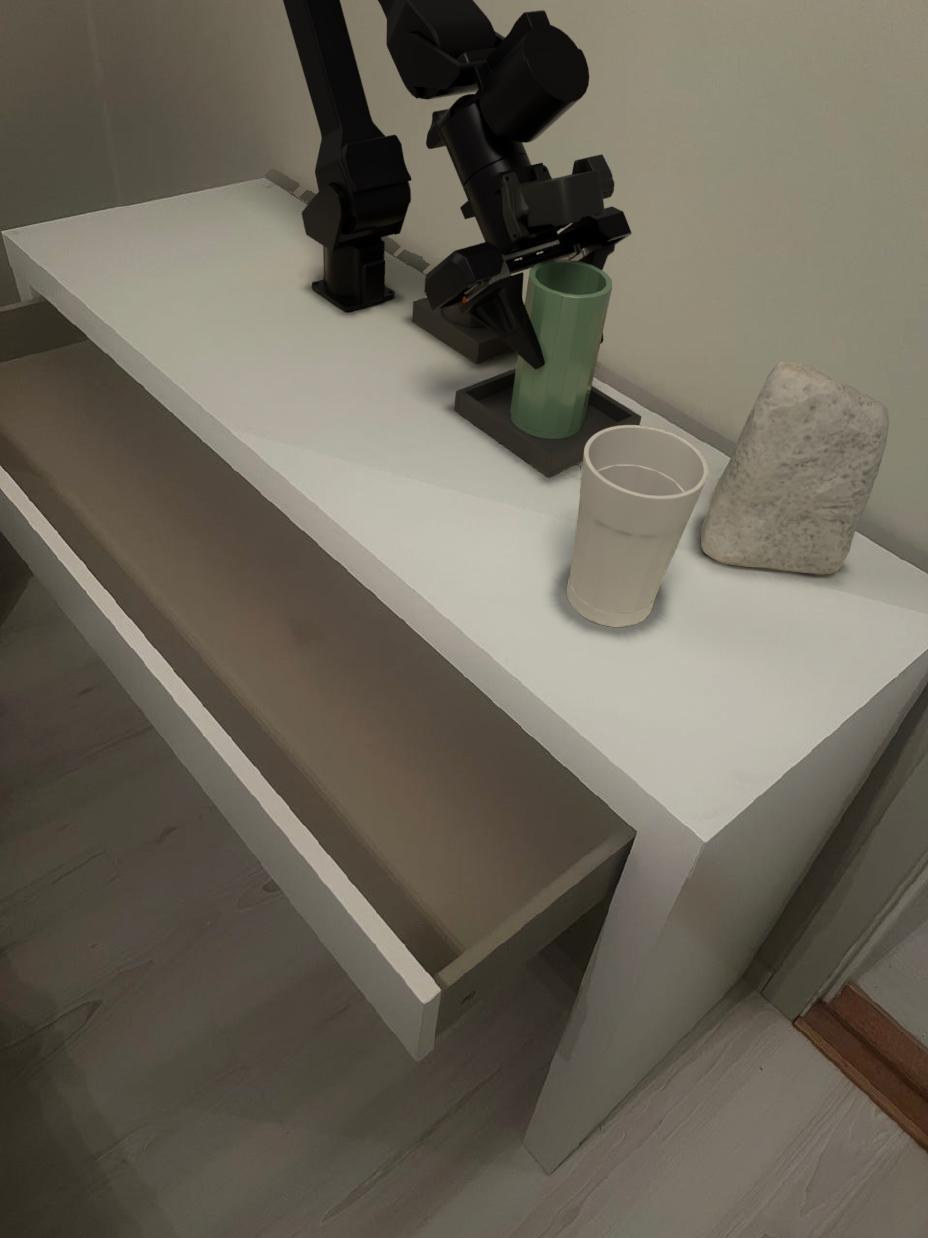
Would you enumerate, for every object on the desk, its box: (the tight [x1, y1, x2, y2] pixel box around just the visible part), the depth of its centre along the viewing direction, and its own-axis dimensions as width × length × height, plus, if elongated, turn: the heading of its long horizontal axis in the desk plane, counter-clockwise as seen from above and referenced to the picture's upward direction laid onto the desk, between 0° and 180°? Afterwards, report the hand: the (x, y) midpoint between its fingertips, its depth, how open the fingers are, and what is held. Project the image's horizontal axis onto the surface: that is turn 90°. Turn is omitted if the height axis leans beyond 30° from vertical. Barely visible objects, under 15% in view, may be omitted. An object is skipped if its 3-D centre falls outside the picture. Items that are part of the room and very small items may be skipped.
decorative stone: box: [700, 360, 890, 575], centre depth 68 cm, size 11×6×15 cm, turn 78°
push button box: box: [411, 296, 515, 365], centre depth 92 cm, size 10×7×4 cm
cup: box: [566, 424, 709, 628], centre depth 63 cm, size 8×8×12 cm
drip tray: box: [453, 367, 642, 479], centre depth 83 cm, size 12×11×2 cm
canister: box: [510, 259, 613, 439], centre depth 78 cm, size 7×7×13 cm
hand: (569, 355), depth 77 cm, fingers closed on canister, 7 cm apart
